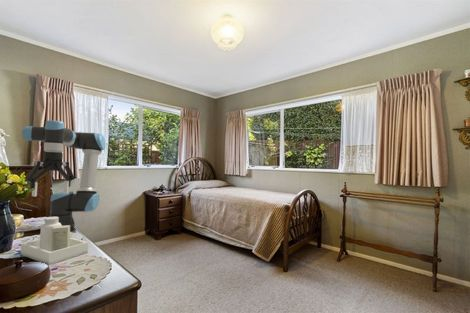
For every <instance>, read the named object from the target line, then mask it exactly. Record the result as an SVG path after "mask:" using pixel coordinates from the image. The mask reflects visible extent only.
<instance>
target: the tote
mask: <svg viewBox="0 0 470 313" xmlns="http://www.w3.org/2000/svg"><path fill="white" fill-rule="evenodd" d="M88 251H89V242H88V241H84V240H80V239H77V238H73V237H70V247H67V248H63V249H60V250H56V251H52V252H51V251H47V250H44V249H41V248H40V238H38V239H34V240H29V241H25V242H21V243H20V253H19V254H20V255H21V256H24V257H27V258H28V259H31V260H34V261H36V262H40V263H42V262H43V263H42V264H44V263H46V264H45V265H47V266H51V265H53V264H54V265H55V264H57V263H60V262H63V261H66V260H70V259H73V258H75V257H78V256H81V255H85V254H88V253H89V252H88Z"/></svg>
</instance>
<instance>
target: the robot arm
mask: <svg viewBox="0 0 470 313" xmlns="http://www.w3.org/2000/svg"><path fill="white" fill-rule="evenodd" d="M21 135H22V136H21V137H22V138H23V140H25V141H30V142H32V141H33V142H35V141H36V142H43V151H44V152H43V156H42V157H43V159H42V160H43V161H39V160H36V161H34V165H33V167H32V168H31V170H30V172H29V173H28V174H27V176H26V177H25V179H24V181H26V182H29V189H30V188H31V189H30V190H32V188H34V190H33V191H31V197H37V195H38V182H37V181H38V180H39V179H40V178H41V177H42V176H43V175H44V174H45V173H46V172H49V171H50V172H51V171H52V172H53V171H56V172H58V173H59V174H60V175H61V176H62V177H63V178H64V180H63V183H64V184H63V192H57V193H53V194H51V196H50V206H49V207H50V208H49V217H59V220H58V222H59V223H61V225H62V226H66V225H70V230H72V229H74V228H75V227H76V222H75V220H74V217H73V213H76V212H77V213H79V212H80V213H84V212H85V213H88V212H94V211H95V210H96V209H97V208H98V205H99V202H100V194H98V191H97V189H96V188H95V187H96V180H97V172H98V163H99V155H100V154H102V151H104V150H105V149H106V139H105V136H104V135H103V134H102V133H100V132H99V133H98V132H83V131H82V132H81V131H79V132H75V131H73V130H72V129H70V128H67V127H65V123H64V121H61V120H60V121H59V120H53V119H50V120H49V119H48V120H46V121H45V125H44V126H33V125H30V126H29V125H26V126H24V127H23V128H22V130H21ZM64 147H66V148H67V147H68V148H72V149H77V150H81V151H82V153H83V159H82V160H83V161H82V168H81V176H80V184H79V188H78V189H77V190H76V191H75V193H74V191H69V188H70V187H71V182H72V181H73V180H75V178H76V177H75V176H74V173H73V171H72V169H71V167H70V162H69V161H64V162H63V159H64V158H63V157H64V156H63V155H64V154H63V151H64ZM41 166H43V167H41ZM40 167H41V169H40V170H39V168H40ZM63 167H64V169H65V171H64V169H63ZM38 170H39V171H38Z"/></svg>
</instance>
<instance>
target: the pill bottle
mask: <svg viewBox="0 0 470 313" xmlns="http://www.w3.org/2000/svg"><path fill="white" fill-rule="evenodd" d="M58 220H59V217H50V216H48V217H44V223H43V224H41V225H40V226H41V227H40V231H39V232H40V235H39V239H40V248H41V249H44V250H47V251H51V246H52V228H53V227H55V226H62V225H61V223H59V222H58Z"/></svg>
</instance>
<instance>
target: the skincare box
mask: <svg viewBox="0 0 470 313" xmlns="http://www.w3.org/2000/svg"><path fill="white" fill-rule="evenodd" d="M70 238H71V229H70V225H66V226H55V227H53V228H52V246H51V252H52V251H56V250H60V249H63V248H67V247H70Z"/></svg>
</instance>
